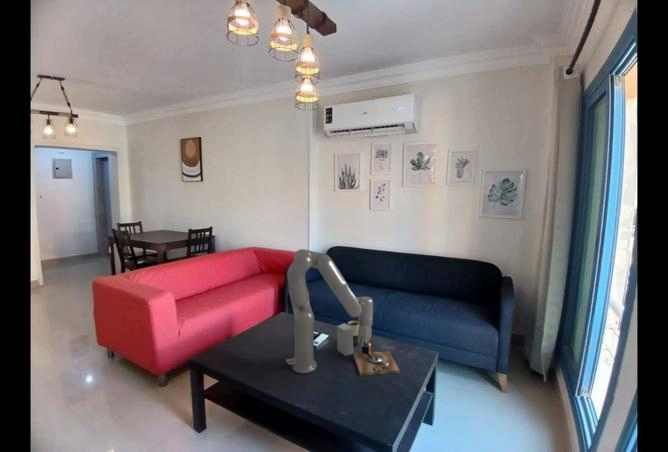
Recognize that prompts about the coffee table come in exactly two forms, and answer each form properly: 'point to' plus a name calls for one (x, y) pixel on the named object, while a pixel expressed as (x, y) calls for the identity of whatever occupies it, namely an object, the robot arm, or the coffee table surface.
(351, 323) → the character mug
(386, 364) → the cam capstan
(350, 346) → the skincare box
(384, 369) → the stand
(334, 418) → the coffee table surface
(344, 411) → the coffee table surface
